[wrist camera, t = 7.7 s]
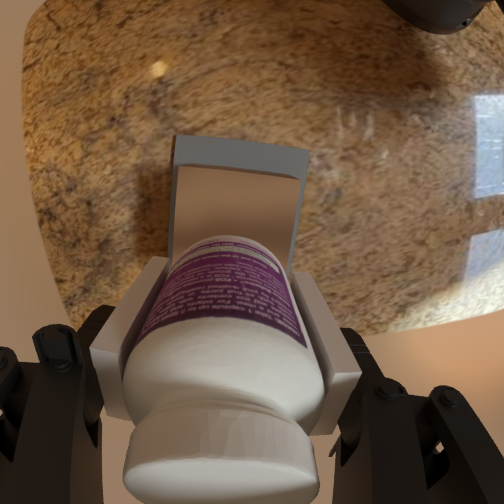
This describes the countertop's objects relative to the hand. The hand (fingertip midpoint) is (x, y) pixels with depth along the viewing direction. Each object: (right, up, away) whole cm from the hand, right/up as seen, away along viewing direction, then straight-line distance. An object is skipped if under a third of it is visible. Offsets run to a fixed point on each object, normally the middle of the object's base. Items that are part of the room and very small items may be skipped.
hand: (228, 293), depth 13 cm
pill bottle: (0, 0, 0) cm, 0 cm away
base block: (-1, +5, +14) cm, 15 cm away
